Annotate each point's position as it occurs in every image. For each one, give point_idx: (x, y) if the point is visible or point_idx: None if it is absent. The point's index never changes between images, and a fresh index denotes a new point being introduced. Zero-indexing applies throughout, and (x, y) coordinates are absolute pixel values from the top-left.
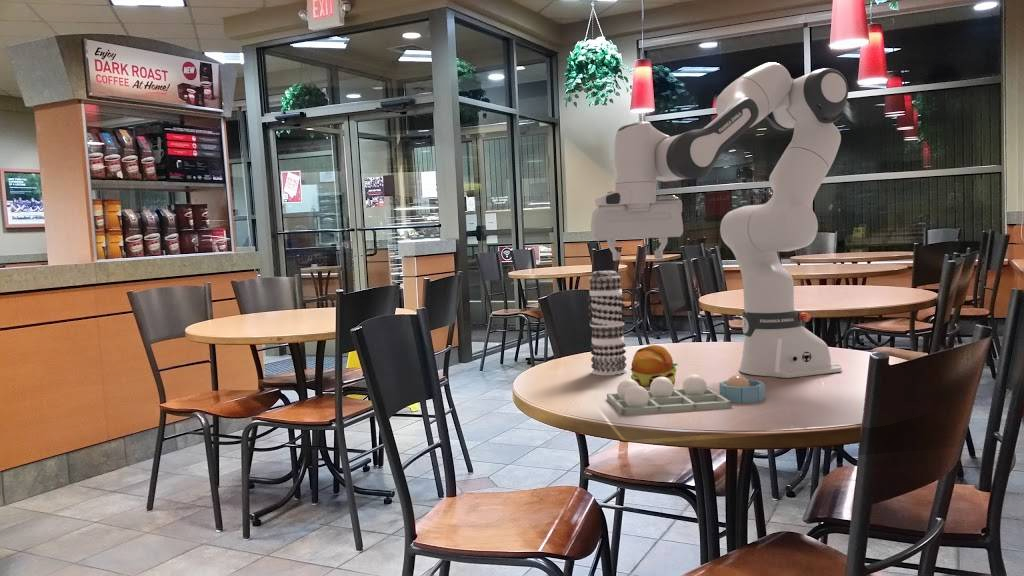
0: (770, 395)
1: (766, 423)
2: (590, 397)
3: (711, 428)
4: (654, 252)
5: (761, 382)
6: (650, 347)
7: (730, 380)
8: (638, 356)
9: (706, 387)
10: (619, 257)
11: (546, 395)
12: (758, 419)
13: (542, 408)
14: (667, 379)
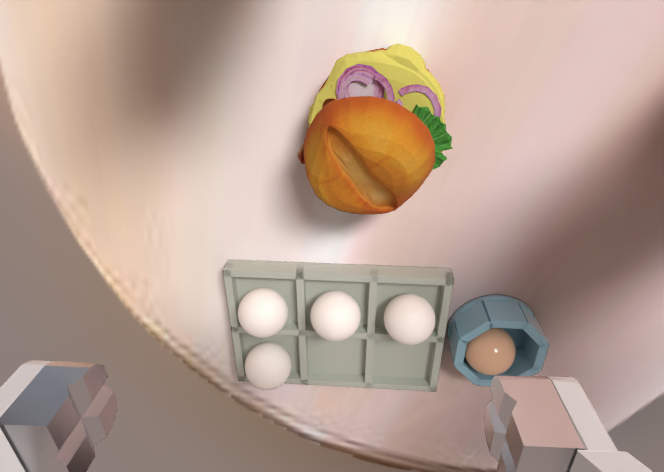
0: (574, 303)
1: (445, 439)
2: (194, 200)
3: (360, 438)
4: (514, 430)
5: (540, 361)
6: (367, 162)
7: (473, 364)
8: (318, 179)
9: (450, 283)
10: (90, 436)
11: (83, 144)
12: (446, 422)
13: (95, 262)
14: (345, 337)
